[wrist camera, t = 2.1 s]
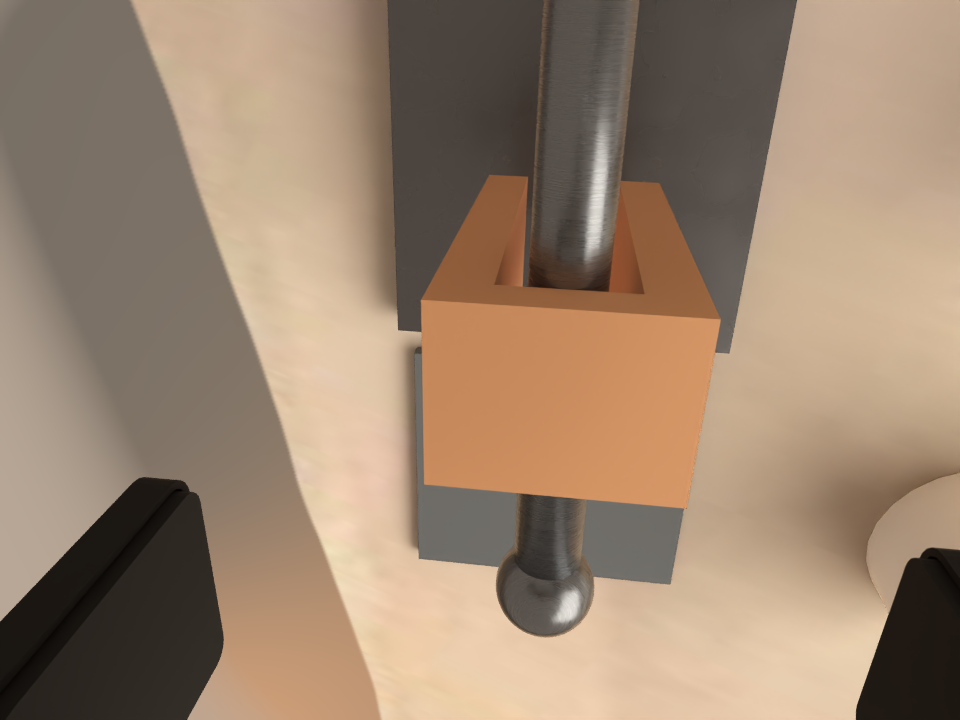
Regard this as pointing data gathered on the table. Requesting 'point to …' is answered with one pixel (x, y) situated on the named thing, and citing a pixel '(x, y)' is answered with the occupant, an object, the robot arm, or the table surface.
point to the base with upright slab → (913, 532)
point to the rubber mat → (492, 514)
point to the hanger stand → (579, 173)
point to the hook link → (567, 360)
